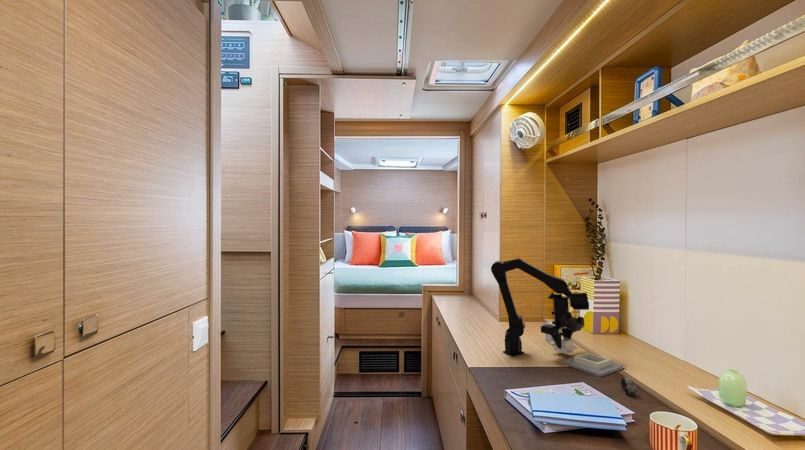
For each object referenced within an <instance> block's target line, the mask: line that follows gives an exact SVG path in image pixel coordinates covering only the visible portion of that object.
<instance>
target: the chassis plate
mask: <svg viewBox="0 0 805 450" xmlns="http://www.w3.org/2000/svg"><path fill="white" fill-rule="evenodd" d="M561 364H562V365H564V366H567V367H570V368H573V369H576V370H579V371H581V372H585V373H587V374H590V375H593V376H596V377H598V378H602V377H605V376H607V375H610V374H612V373H613V374H614V373H616V372H618V371H621V370H620V369H621V368H623V367H625V368H626V366H625V365H624V364H621V363H617V362H614V361H612V359H610V358H607V357H603V356H600V355H597V354H594V353H590V352H584V353H581V354H577V355H574V356H573V357H572V358H568V359H565V360H562V361H561Z"/></svg>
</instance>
